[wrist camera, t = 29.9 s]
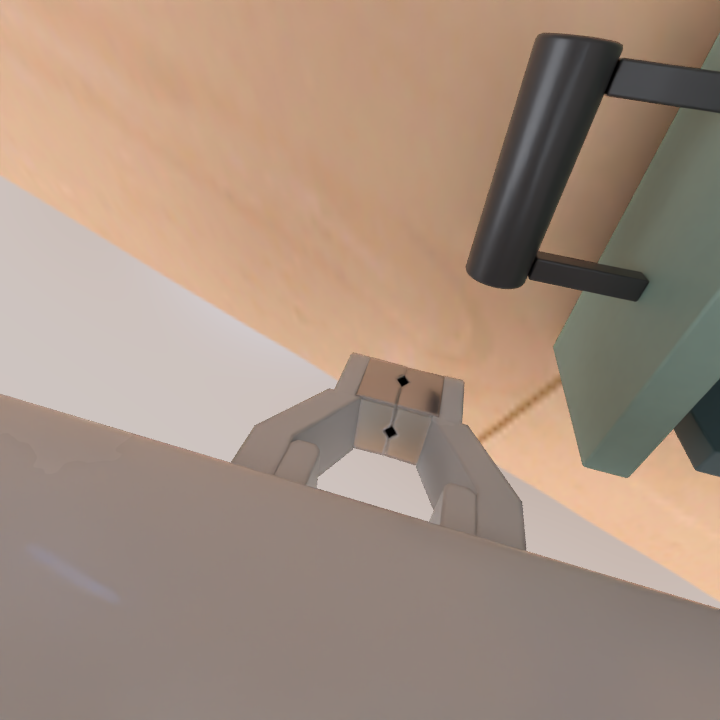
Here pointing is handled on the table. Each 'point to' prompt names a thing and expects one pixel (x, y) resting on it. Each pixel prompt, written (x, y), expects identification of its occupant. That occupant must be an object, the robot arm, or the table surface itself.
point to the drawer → (620, 251)
